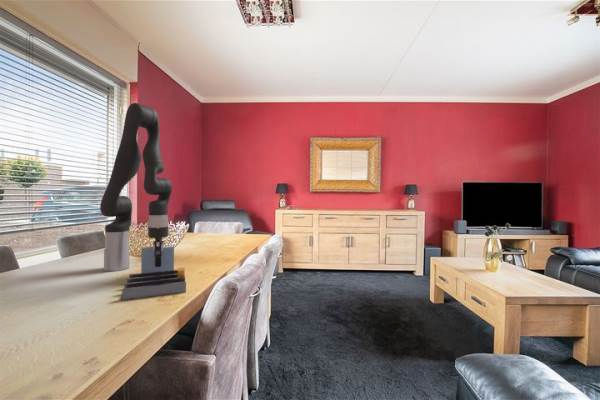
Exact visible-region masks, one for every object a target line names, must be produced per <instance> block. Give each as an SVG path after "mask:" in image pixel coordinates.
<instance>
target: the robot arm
mask: <svg viewBox="0 0 600 400" xmlns="http://www.w3.org/2000/svg"><path fill="white" fill-rule="evenodd" d="M140 128H142V129H145V130H146V133H147V140H146V143H145V146H144V147H143V150H142V152H141V151H140V147H139V144H138V139H137V138H138V131H139V129H140ZM160 132H161V131H160V118H159V114H158V112H157V111H156V110H155V109H153V107H149V106H146V105H143V104H141V103H137V102H132V103H130V105H129V106H128V107H127V110H126V113H125V118H124V124H123V129H122V135H121V139H120V142H119V148H118V149H117V153H116V156H115V159H114V164H113V168H112V171H111V173H110V174H111V175H110V178H109V181H108V184H107V186H106V189H105V191H104V193H103V195H102V198H101V200H100V206H99V208H100V214H102V215H103V216H104V217H107V218H109V217H110V218H111V217H115V218H114V220H113V221H111V222H110V223H108V224H106V225H105V227H104V241H105V242H104V249H103V272H117V271H124V270H127V269H130V227H131V225H132V214H133V213H132V212H133V203H132V200H131V199H130V197H129V196H127V195H121V192H122V191H123V189H124V188H125V186H126V185H127V184H129V182H130V181H131V180H132V179H134V177H135V176H136V175H137V173H138V172H139V170H140V169H139V168H140V165H141V163H142V161H143V165H144V178H143V179H144V180H143V189H144V191H145V193H146V194H147V195H151V196H158V197H157V199H156V200H155V199H154V200H152V201H149V204H148V220H147V224H148V225H147V230H148V231H147V233H148V234H147V236H148V238H150V239H154V241H153V242H152V247H154V249H153V251H154V253H155V255H154V257H155V267H161V256H162V255H161V254H162V252H163V246H165V245H164V244H165V242H164V240H163V238H168V237H169V215H168V214H169V213H168V212H169V210H168V209H169V208H168V207H169V206H168V205H169V202H170V198H171V194H172V191H173V185H172V182H171V181H170V179H168V178H163V177H162V178H161V177H157V175H159V174H162V173H163V172H164V170H165V168H164V162H163V157H162V151H161V143H160V142H161V141H160V140H161V139H160V138H161V136H160ZM161 246H162V248H161ZM156 253H160V254H156Z"/></svg>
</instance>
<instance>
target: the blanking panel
mask: <svg viewBox="0 0 600 400" xmlns="http://www.w3.org/2000/svg"><path fill="white" fill-rule="evenodd" d="M161 248H162V246H161ZM153 249H154V247H153V246H151V247H150V246H149V247H145V246H144V247H141V254H140V255H141V257H140V260H141V261H140V266H141V268H140V271H141V272H140V273H148V272H158V271H168V270H175V245H164V246H163V252H162V254H161V255H162V256H161V267H155V257H154V255H155V253H154V251H153ZM156 254H160V253H156Z"/></svg>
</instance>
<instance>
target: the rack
mask: <svg viewBox="0 0 600 400" xmlns="http://www.w3.org/2000/svg"><path fill="white" fill-rule="evenodd" d="M185 271H186V270H185V267H177V269H174V270H168V271H158V272H148V273H141V272H140V273H129V275H128V278H127V279H126V283H125V284H124V288H122V290H121V292H122V293H121V296H122V297H121V298H122V299H121V301H122V302H123V301H128V300H137V299H145V298H153V297H159V296H166V295H175V294H176V295H177V294H182V293H186V292H187V281H186V276H185V274H186V273H185Z"/></svg>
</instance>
